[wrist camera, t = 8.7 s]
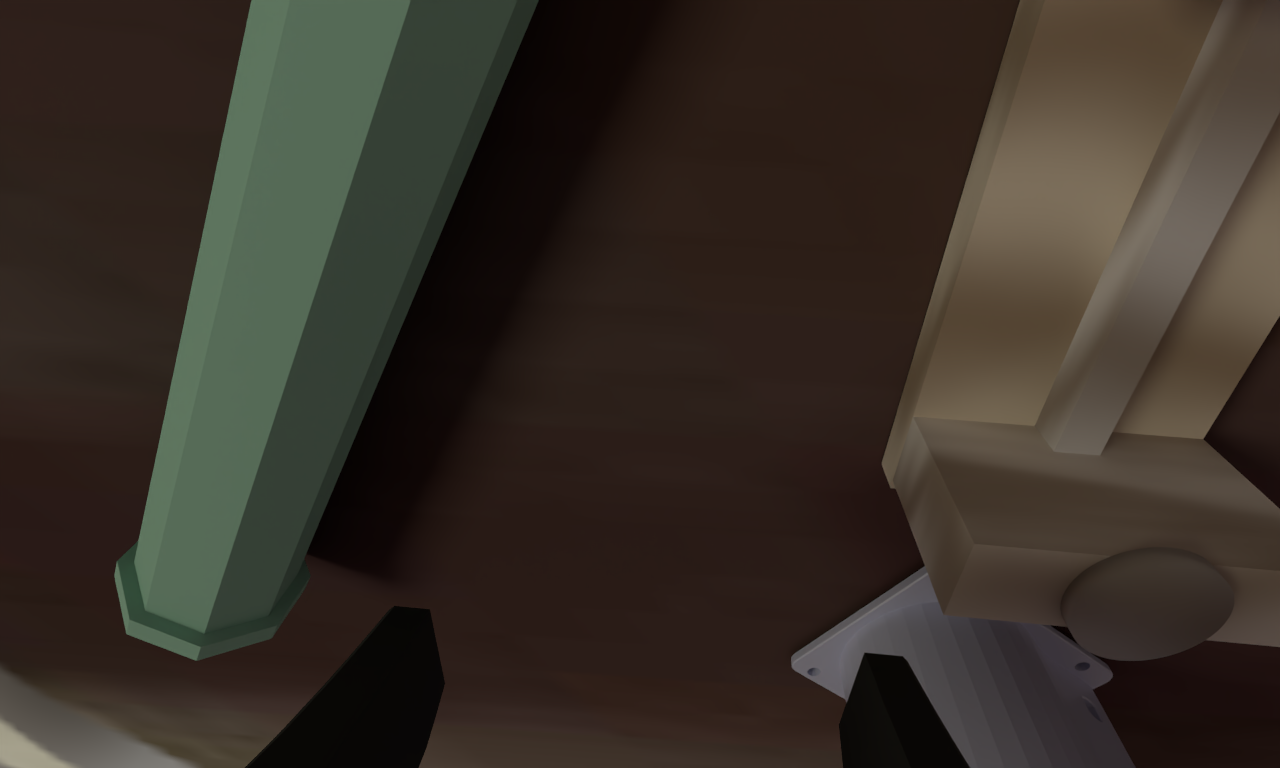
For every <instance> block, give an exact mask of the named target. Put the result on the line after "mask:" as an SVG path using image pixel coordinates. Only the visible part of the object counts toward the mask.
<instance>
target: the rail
mask: <svg viewBox="0 0 1280 768" xmlns="http://www.w3.org/2000/svg"><path fill="white" fill-rule="evenodd" d="M1279 316H1280V0H1020V3H1019V6H1018V9H1017V13H1016V16H1015V19H1014V23H1013V26H1012V29H1011V33H1010V36H1009V39H1008V43H1007V46H1006V49H1005V53H1004V56H1003V59H1002V63H1001V66H1000V69H999V73H998V76H997V79H996V83H995V86H994V90H993V93H992V96H991V100H990V103H989V106H988V110H987V113H986V116H985V120H984V123H983V126H982V130H981V133H980V136H979V140H978V143H977V146H976V150H975V153H974V156H973V160H972V163H971V166H970V170H969V173H968V176H967V180H966V183H965V186H964V190H963V193H962V196H961V200H960V203H959V206H958V210H957V213H956V216H955V220H954V223H953V226H952V230H951V233H950V237H949V240H948V243H947V247H946V250H945V253H944V257H943V260H942V263H941V267H940V270H939V273H938V277H937V280H936V283H935V287H934V290H933V293H932V297H931V300H930V303H929V307H928V310H927V313H926V317H925V320H924V323H923V327H922V330H921V333H920V337H919V340H918V343H917V347H916V350H915V353H914V357H913V360H912V363H911V367H910V370H909V373H908V377H907V380H906V383H905V387H904V390H903V394H902V397H901V400H900V404H899V407H898V410H897V414H896V417H895V420H894V424H893V427H892V430H891V434H890V437H889V440H888V444H887V447H886V450H885V454H884V457H883V460H882V466H883V469H884V472H885V475H886V477H887V480H888V483H889V486H890V488H896V490H897V493H898V496H899V498H900V501H901V504H902V506H903V509H904V512H905V514H906V517H907V520H908V522H909V525H910V528H911V530H912V533H913V536H914V538H915V541H916V543H917V546H918V549H919V551H920V554H921V557H922V559H923V562H924V565H925V567H926V570H927V573H928V575H929V578H930V581H931V583H932V586H933V589H934V591H935V594H936V597H937V599H938V602H939V604H940V607H941V610H942V612H943V615H948V616H958V617H969V618H979V619H990V620H1000V621H1011V622H1021V623H1032V624H1042V625H1053V626H1063V627H1068V629H1069V630H1070V632H1071V634H1072V636H1073V637H1074V639H1075V640H1076V642H1077V643H1078V644H1079V645H1080V646H1081V647H1082V648H1084V649H1085V650H1086V651H1088V652H1090V653H1092V654H1094V655H1097V656H1100V657H1103V658H1107V659H1112V660H1120V661H1142V660H1151V659H1157V658H1162V657H1166V656H1170V655H1173V654H1177V653H1180V652H1182V651H1185V650H1187V649H1190V648H1192V647H1194V646H1196V645H1198V644H1200V643H1201V642H1203V641H1205V640H1211V641H1221V642H1232V643H1242V644H1253V645H1263V646H1274V647H1280V509H1279V508H1278V507H1277V506H1276V505H1275V504H1274V503H1273V502H1272V501H1271V500H1269V499H1268V498H1267V497H1266V496H1265V495H1264V494H1263V493H1262V492H1261V491H1260V490H1258V489H1257V488H1256V487H1255V486H1254V485H1253V484H1252V483H1251V482H1250V481H1249V480H1247V479H1246V478H1245V477H1244V476H1243V475H1242V474H1241V473H1240V472H1239V471H1238V470H1236V469H1235V468H1234V467H1233V466H1232V465H1231V464H1230V463H1229V462H1228V461H1227V460H1225V459H1224V458H1223V457H1222V456H1221V455H1220V454H1219V453H1218V452H1217V451H1216V450H1215V449H1213V448H1212V447H1211V446H1210V445H1209V444H1208V443H1207V442H1206V441H1205V440H1204V437H1205V435H1206V434H1207V432H1208V431H1209V429H1210V427H1211V426H1212V424H1213V423H1214V421H1215V419H1216V418H1217V416H1218V414H1219V413H1220V411H1221V410H1222V408H1223V406H1224V405H1225V403H1226V402H1227V400H1228V398H1229V397H1230V395H1231V394H1232V392H1233V390H1234V389H1235V387H1236V385H1237V384H1238V382H1239V381H1240V379H1241V377H1242V376H1243V374H1244V373H1245V371H1246V369H1247V368H1248V366H1249V364H1250V363H1251V361H1252V360H1253V358H1254V356H1255V355H1256V353H1257V352H1258V350H1259V348H1260V347H1261V345H1262V344H1263V342H1264V340H1265V339H1266V337H1267V335H1268V334H1269V332H1270V331H1271V329H1272V327H1273V326H1274V324H1275V323H1276V321H1277V319H1278V318H1279Z"/></svg>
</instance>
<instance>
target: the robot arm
mask: <svg viewBox="0 0 1280 768" xmlns="http://www.w3.org/2000/svg"><path fill="white" fill-rule="evenodd" d="M791 663H792V668H793V669H794V670H795V671H796V672H798V673H800V674H802V675H803V676H805V677H807V678H809V679H810V680H812V681H814V682H816V683H818V684H819V685H821V686H823V687H825V688H826V689H828V690H830V691H832V692H833V693H835V694H837V695H839V696H840V697H842V698H844V699H846V706H845V709H844V712H843V715H842V718H841V721H840V723H839V729H840V740H841V750H842V760H843V768H1135V766H1134V764H1133V762H1132V760H1131V758H1130V757H1129V755H1128V753H1127V751H1126V749H1125V748H1124V746H1123V744H1122V742H1121V740H1120V738H1119V737H1118V735H1117V733H1116V731H1115V729H1114V728H1113V726H1112V724H1111V722H1110V720H1109V718H1108V717H1107V715H1106V713H1105V711H1104V709H1103V708H1102V706H1101V704H1100V702H1099V700H1098V698H1097V697H1096V695H1095V693H1094V691H1093V689H1095V688H1097V687H1099V686H1101V685H1103V684H1105V683H1107V682H1109V681H1110V680H1111V678H1112V677H1113V673H1112V671H1111V670H1110V668H1109V666H1108V665H1107V664H1106V663H1105V662H1103V661H1102V660H1100V659H1099V658H1097V657H1096V656H1094V655H1093V654H1091V653H1090V652H1088V651H1086V650H1085V649H1084V648H1082V647H1081V646H1080V645H1078V644H1077V643H1075V642H1074V641H1072V640H1071V639H1069V638H1068V637H1066V636H1065V635H1063V634H1062V633H1060V632H1059V631H1057V630H1056V629H1055V628H1053V627H1052V626H1050V625H1042V624H1032V623H1021V622H1011V621H1000V620H990V619H979V618H969V617H958V616H948V615H943V612H942V610H941V607H940V604H939V602H938V599H937V597H936V594H935V591H934V589H933V586H932V583H931V581H930V578H929V575H928V573H927V570H926V567H925V566H924V567H923V568H921V569H920V570H918V571H917V572H915V573H914V574H912V575H911V576H909V577H908V578H906V579H905V580H903V581H902V582H900V583H899V584H897V585H896V586H894V587H893V588H891V589H890V590H888V591H887V592H885V593H884V594H883V595H881V596H880V597H878V598H877V599H875V600H874V601H872V602H871V603H869V604H868V605H866V606H865V607H863V608H862V609H860V610H859V611H857V612H856V613H854V614H853V615H851V616H850V617H848V618H847V619H845V620H844V621H842V622H841V623H839V624H838V625H836V626H835V627H833V628H832V629H830V630H829V631H827V632H826V633H824V634H823V635H821V636H820V637H818V638H817V639H815V640H814V641H812V642H811V643H809V644H808V645H806V646H805V647H803V648H802V649H800V650H799V651H798V652H796V653H795V654H794V655H793V656H792V657H791ZM444 685H445V682H444V677H443V672H442V667H441V662H440V657H439V652H438V647H437V643H436V638H435V633H434V628H433V623H432V618H431V613H430V609H419V608H409V607H399V606H394V607H393V608H391V609H390V610H389V611H388V612H387V613H386V614H385V615H384V617H383V618H382V619H381V620H380V621H379V623H378V624H377V625H376V626H375V627H374V628H373V630H372V631H371V632H370V633H369V634H368V635H367V637H366V638H365V639H364V640H363V641H362V642H361V644H360V645H359V646H358V647H357V648H356V649H355V651H354V652H353V653H352V654H351V655H350V656H349V657H348V659H347V660H346V661H345V662H344V663H343V664H342V665H341V667H340V668H339V669H338V670H337V671H336V672H335V673H334V674H333V676H332V677H331V678H330V679H329V680H328V681H327V682H326V683H325V685H324V686H323V687H322V688H321V689H320V690H319V691H318V692H317V693H316V694H315V695H314V696H313V698H312V699H311V700H310V701H309V702H308V703H307V704H306V705H305V706H304V707H303V708H302V709H301V710H300V712H299V713H298V714H297V715H296V716H295V717H294V718H293V719H292V720H291V721H290V722H289V723H288V724H287V726H286V727H285V728H284V729H283V730H282V731H281V732H280V733H279V734H278V735H277V736H276V737H275V738H274V739H273V740H272V741H271V742H270V743H269V744H268V745H267V746H266V747H265V748H264V749H263V750H262V751H261V752H260V753H259V754H258V755H257V756H256V757H255V758H254V759H253V760H252V761H251V762H250V763H249V764H248V765H247V766H246V767H245V768H419V765H420V763H421V760H422V757H423V755H424V752H425V750H426V747H427V744H428V740H429V737H430V734H431V730H432V727H433V724H434V720H435V717H436V713H437V710H438V706H439V703H440V699H441V695H442V692H443V688H444Z"/></svg>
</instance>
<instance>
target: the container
mask: <svg viewBox="0 0 1280 768" xmlns="http://www.w3.org/2000/svg"><path fill="white" fill-rule="evenodd" d="M538 1H539V0H252V1H251V6H250V10H249V15H248V20H247V25H246V29H245V34H244V39H243V44H242V49H241V53H240V58H239V63H238V68H237V72H236V77H235V82H234V87H233V92H232V96H231V101H230V106H229V111H228V116H227V120H226V125H225V130H224V135H223V139H222V144H221V149H220V154H219V159H218V163H217V168H216V173H215V178H214V183H213V187H212V192H211V197H210V202H209V206H208V211H207V216H206V221H205V226H204V230H203V235H202V240H201V245H200V249H199V254H198V259H197V264H196V269H195V273H194V278H193V283H192V288H191V293H190V297H189V302H188V307H187V312H186V316H185V321H184V326H183V331H182V336H181V340H180V345H179V350H178V355H177V360H176V364H175V369H174V374H173V379H172V383H171V388H170V393H169V398H168V403H167V407H166V412H165V417H164V422H163V426H162V431H161V436H160V441H159V446H158V450H157V455H156V460H155V465H154V470H153V474H152V479H151V484H150V489H149V493H148V498H147V503H146V508H145V513H144V517H143V522H142V527H141V532H140V537H139V541H138V542H137V543H136V544H134V545H133V546H132V547H131V548H130V549H129V550H128V551H127V552H126V553H125V554H124V555H123V556H122V557H121V558H120V559H119V560H118V561H117V565H116V570H115V575H114V576H115V581H116V586H117V591H118V596H119V600H120V605H121V610H122V615H123V620H124V625H125V629H126V634H128V635H130V636H133V637H136V638H138V639H141V640H143V641H146V642H149V643H151V644H154V645H157V646H159V647H162V648H164V649H167V650H170V651H172V652H175V653H178V654H180V655H183V656H185V657H188V658H191V659H193V660H196V661H197V660H201V659H204V658H207V657H211V656H214V655H217V654H221V653H224V652H228V651H231V650H234V649H238V648H241V647H244V646H248V645H251V644H254V643H258V642H261V641H264V640H268V639H271V638H272V637H273V636H274V634H275V633H276V631H277V630H278V628H279V627H280V625H281V624H282V622H283V621H284V619H285V618H286V616H287V615H288V613H289V612H290V610H291V609H292V607H293V606H294V604H295V603H296V601H297V600H298V598H299V597H300V595H301V594H302V592H303V591H304V589H305V588H306V585H307V583H308V581H309V578H310V573H309V570H308V568H307V565H306V562H305V560H304V558H305V556H306V553H307V551H308V548H309V546H310V544H311V541H312V539H313V536H314V534H315V532H316V529H317V527H318V525H319V522H320V520H321V517H322V515H323V513H324V510H325V508H326V506H327V503H328V501H329V498H330V496H331V494H332V491H333V489H334V486H335V484H336V482H337V479H338V477H339V475H340V472H341V470H342V467H343V465H344V463H345V460H346V458H347V456H348V453H349V451H350V448H351V446H352V444H353V441H354V439H355V437H356V434H357V432H358V429H359V427H360V425H361V422H362V420H363V417H364V415H365V413H366V410H367V408H368V406H369V403H370V401H371V398H372V396H373V394H374V391H375V389H376V387H377V384H378V382H379V379H380V377H381V375H382V372H383V370H384V368H385V365H386V363H387V360H388V358H389V356H390V353H391V351H392V348H393V346H394V344H395V341H396V339H397V337H398V334H399V332H400V329H401V327H402V325H403V322H404V320H405V318H406V315H407V313H408V310H409V308H410V306H411V303H412V301H413V298H414V296H415V294H416V291H417V289H418V287H419V284H420V282H421V279H422V277H423V275H424V272H425V270H426V268H427V265H428V263H429V260H430V258H431V256H432V253H433V251H434V249H435V246H436V244H437V241H438V239H439V237H440V234H441V232H442V229H443V227H444V225H445V222H446V220H447V218H448V215H449V213H450V210H451V208H452V206H453V203H454V201H455V199H456V196H457V194H458V191H459V189H460V187H461V184H462V182H463V180H464V177H465V175H466V172H467V170H468V168H469V165H470V163H471V160H472V158H473V156H474V153H475V151H476V149H477V146H478V144H479V141H480V139H481V137H482V134H483V132H484V130H485V127H486V125H487V122H488V120H489V118H490V115H491V113H492V110H493V108H494V106H495V103H496V101H497V99H498V96H499V94H500V91H501V89H502V87H503V84H504V82H505V80H506V77H507V75H508V72H509V70H510V68H511V65H512V63H513V61H514V58H515V56H516V53H517V51H518V49H519V46H520V44H521V41H522V39H523V37H524V34H525V32H526V30H527V27H528V25H529V22H530V20H531V18H532V15H533V13H534V11H535V8H536V6H537V3H538Z"/></svg>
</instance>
